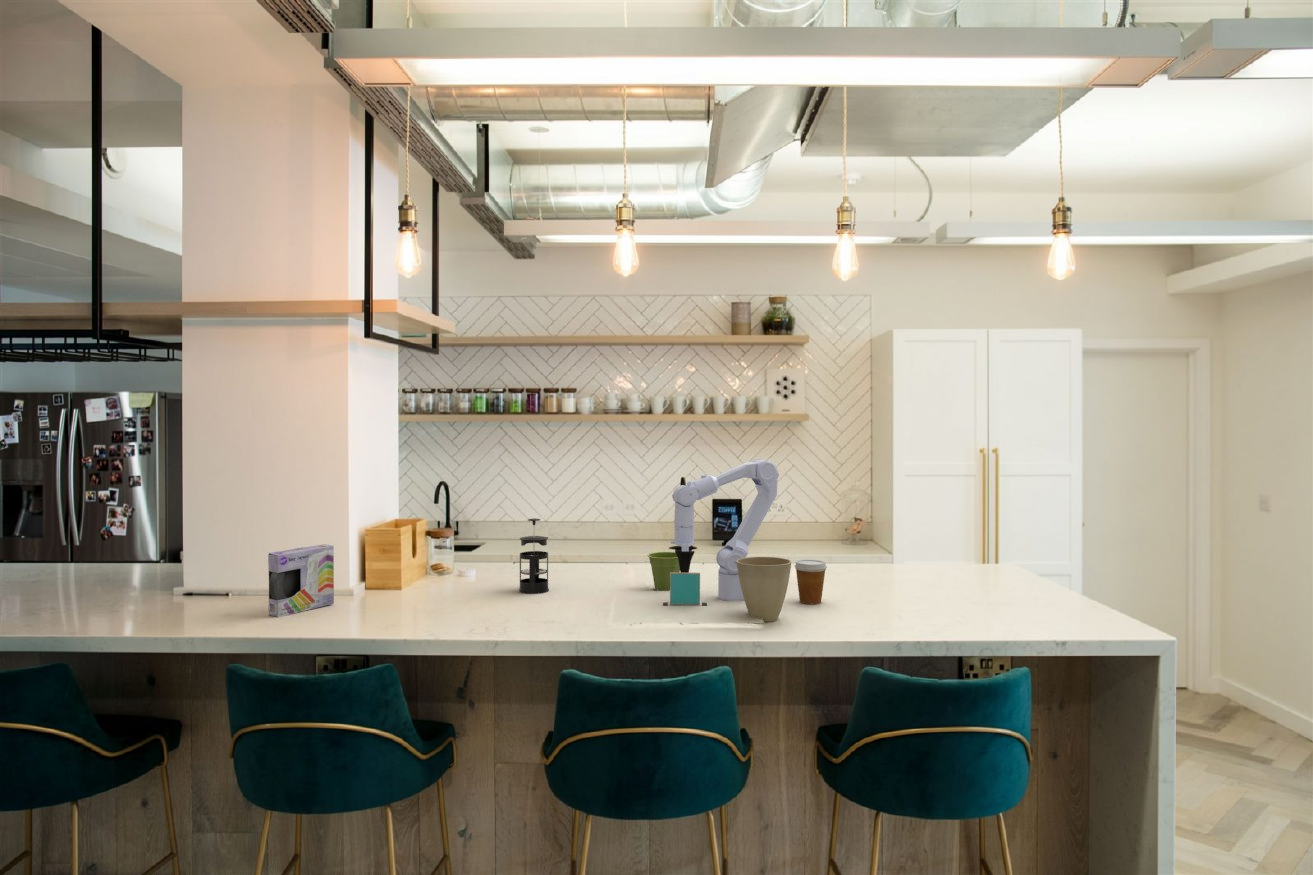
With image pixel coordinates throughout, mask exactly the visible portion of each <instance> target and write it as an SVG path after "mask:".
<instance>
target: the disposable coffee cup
mask: <svg viewBox="0 0 1313 875" xmlns="http://www.w3.org/2000/svg"><path fill="white" fill-rule="evenodd" d="M794 568H795V571H796V572H795V573H796V579H797V580H796V581H797V588H798V589H797V590H798V596H799V597H798V598H799V602H800V603H801V604H806V605H819V604H821V603H822V598H823V597H822V596H823V590H824V583H825V582H824V581H825V574H826V571H827V570H826V569H827V568H828V566H827V565H826V562H825V561H823V560H818V559H800V560H796V561H795V564H794Z"/></svg>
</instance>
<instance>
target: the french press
mask: <svg viewBox="0 0 1313 875" xmlns="http://www.w3.org/2000/svg"><path fill="white" fill-rule="evenodd" d="M527 521H528V522H532V526H533V529H532V530H533V531H532V532H533V533H532V534H533V535H528V536H522V537H520V538H519V540H520V545H521V546H522V547H524V546H526V545H527V544H532V545H533V549H532V550H533V551H532V550H529V551H523V552H520V553H519V589H518V592H519V593H521V594H526V595H536V594H539V595H540V594H544V593H548V592H549V590H550V589H549V552H548V551H543V550H542V551H541V550H535V547H536V545H535V544H539V545H541V546H543V547H545V546H547V545H548V544H547V543H548V542H547V541H548V540H549V537H547V536H542V535H535V533H536V532H535V526H536V525H537V524H536V522H539V521H541V519H540V518H533V517H532V518H528V519H527ZM544 559H545V560H546V569H545V568H540V560H544ZM522 560H529V567H528V568H525V569H522ZM522 574H523V575H525V576H526V575H527V576H529V577H527V578H522ZM544 574H546V577H545V578H544V577H540V575H544Z"/></svg>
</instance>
